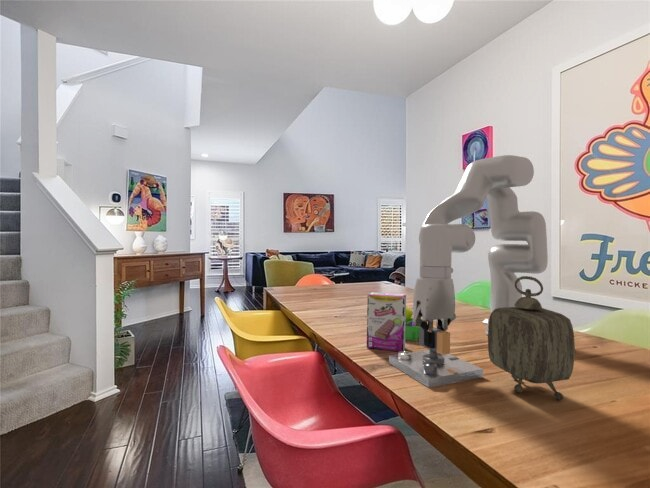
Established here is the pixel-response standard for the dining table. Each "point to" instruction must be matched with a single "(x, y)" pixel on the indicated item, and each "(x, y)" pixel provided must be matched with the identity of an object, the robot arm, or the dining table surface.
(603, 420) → the dining table surface
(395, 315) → the candy bar box
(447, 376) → the levelling base
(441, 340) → the knob
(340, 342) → the dining table surface
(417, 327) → the fruit basket
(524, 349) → the tabletop clock
